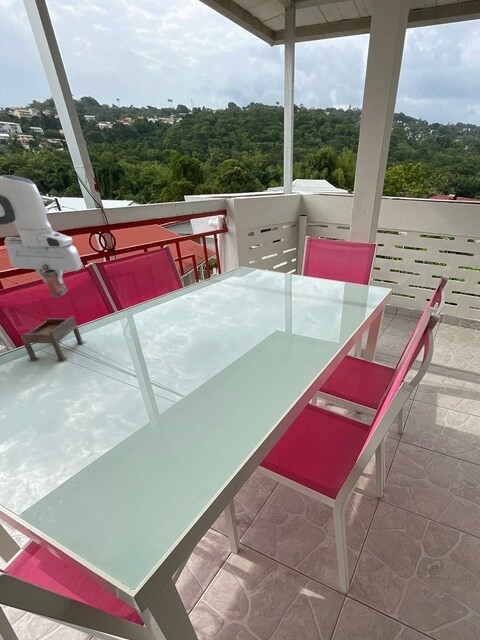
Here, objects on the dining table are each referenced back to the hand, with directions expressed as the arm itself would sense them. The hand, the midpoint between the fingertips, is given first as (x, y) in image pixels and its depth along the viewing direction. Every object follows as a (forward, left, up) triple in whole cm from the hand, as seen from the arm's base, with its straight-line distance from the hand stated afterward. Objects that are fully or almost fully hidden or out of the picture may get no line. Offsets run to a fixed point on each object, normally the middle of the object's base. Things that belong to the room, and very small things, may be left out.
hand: (53, 283), depth 111 cm
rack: (-1, -9, -21) cm, 23 cm away
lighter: (+1, 0, -4) cm, 4 cm away
